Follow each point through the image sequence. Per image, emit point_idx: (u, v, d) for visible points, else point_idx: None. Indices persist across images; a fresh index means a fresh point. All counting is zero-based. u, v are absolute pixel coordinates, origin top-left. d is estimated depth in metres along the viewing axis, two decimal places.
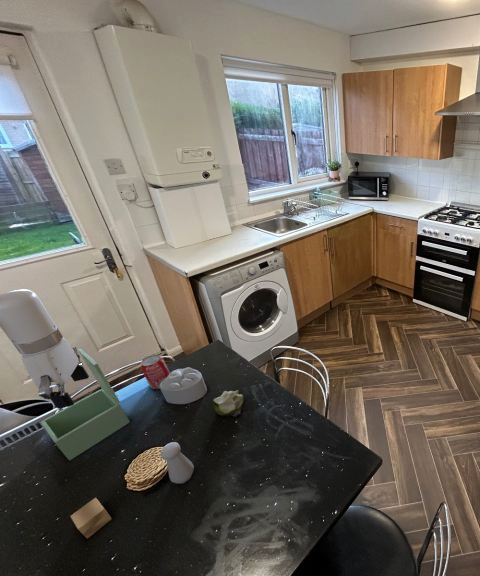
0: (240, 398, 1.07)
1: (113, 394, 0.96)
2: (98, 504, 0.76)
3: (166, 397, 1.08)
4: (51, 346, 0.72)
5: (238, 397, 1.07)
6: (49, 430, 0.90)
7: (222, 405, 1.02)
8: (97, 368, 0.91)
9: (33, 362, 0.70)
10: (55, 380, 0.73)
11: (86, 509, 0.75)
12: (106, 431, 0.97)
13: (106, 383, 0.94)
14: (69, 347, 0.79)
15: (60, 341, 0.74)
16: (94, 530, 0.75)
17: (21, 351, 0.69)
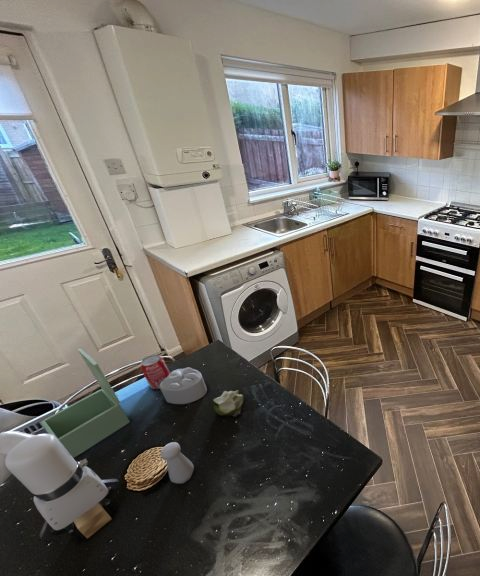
0: (240, 398, 1.07)
1: (113, 394, 0.96)
2: (98, 504, 0.76)
3: (166, 397, 1.08)
4: (50, 501, 0.66)
5: (238, 397, 1.07)
6: (49, 430, 0.90)
7: (222, 405, 1.02)
8: (97, 368, 0.91)
9: (36, 506, 0.66)
10: (50, 526, 0.68)
11: None
12: (106, 431, 0.97)
13: (106, 383, 0.94)
14: (92, 487, 0.72)
15: (63, 495, 0.67)
16: (94, 530, 0.75)
17: None
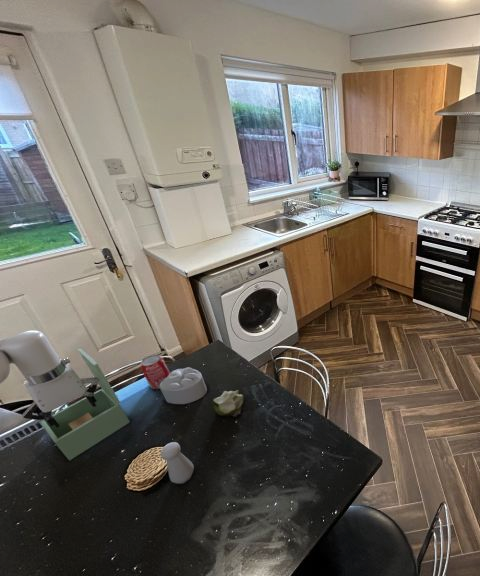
0: (240, 398, 1.07)
1: (113, 394, 0.96)
2: (90, 416, 0.98)
3: (166, 397, 1.08)
4: (38, 384, 0.83)
5: (238, 397, 1.07)
6: (49, 430, 0.90)
7: (222, 405, 1.02)
8: (97, 368, 0.91)
9: (27, 389, 0.84)
10: None
11: (81, 419, 0.97)
12: (106, 431, 0.97)
13: (106, 383, 0.94)
14: (73, 382, 0.90)
15: (49, 381, 0.84)
16: None
17: None
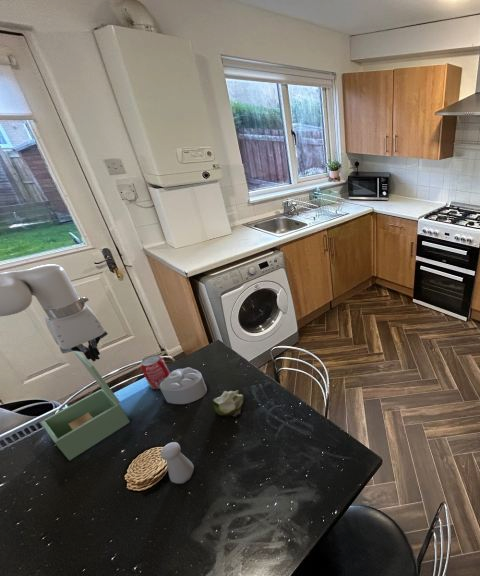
0: (240, 398, 1.07)
1: (112, 395, 0.96)
2: (90, 416, 0.98)
3: (166, 397, 1.08)
4: (58, 318, 0.83)
5: (238, 397, 1.07)
6: (49, 430, 0.90)
7: (222, 405, 1.02)
8: (93, 370, 0.90)
9: (47, 324, 0.84)
10: (58, 344, 0.86)
11: (81, 419, 0.97)
12: (106, 431, 0.97)
13: (104, 384, 0.93)
14: (92, 321, 0.90)
15: (68, 316, 0.84)
16: None
17: None
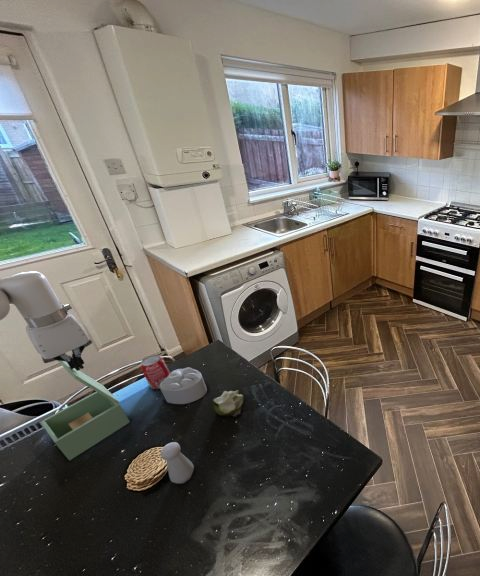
0: (240, 398, 1.07)
1: (109, 397, 0.95)
2: (90, 416, 0.98)
3: (166, 397, 1.08)
4: (39, 327, 0.80)
5: (238, 397, 1.07)
6: (49, 430, 0.90)
7: (222, 405, 1.02)
8: (79, 379, 0.88)
9: (27, 333, 0.81)
10: (40, 353, 0.83)
11: (81, 419, 0.97)
12: (106, 431, 0.97)
13: (96, 390, 0.92)
14: (75, 329, 0.87)
15: (50, 325, 0.81)
16: None
17: None
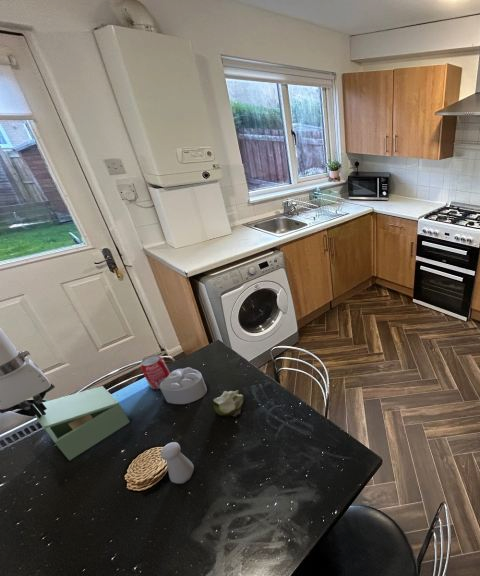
0: (240, 398, 1.07)
1: (102, 408, 0.94)
2: (90, 416, 0.98)
3: (166, 397, 1.08)
4: None
5: (238, 397, 1.07)
6: (49, 430, 0.90)
7: (222, 405, 1.02)
8: (51, 425, 0.85)
9: None
10: None
11: (81, 419, 0.97)
12: (106, 431, 0.97)
13: (81, 416, 0.90)
14: (34, 376, 0.82)
15: (4, 375, 0.77)
16: None
17: None
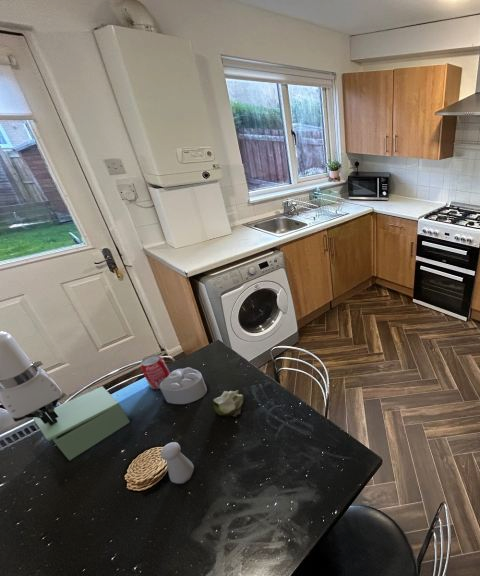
0: (240, 398, 1.07)
1: (103, 411, 0.95)
2: None
3: (166, 397, 1.08)
4: (7, 388, 0.78)
5: (238, 397, 1.07)
6: None
7: (222, 405, 1.02)
8: (54, 436, 0.86)
9: None
10: (9, 413, 0.81)
11: None
12: (106, 431, 0.97)
13: (82, 422, 0.91)
14: (46, 386, 0.85)
15: (18, 385, 0.79)
16: None
17: None
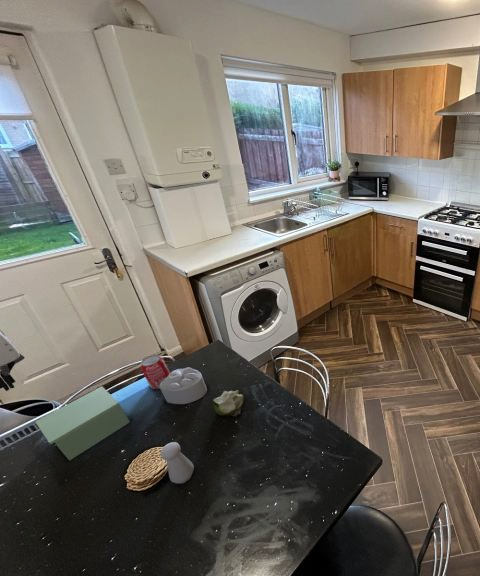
0: (240, 398, 1.07)
1: (103, 412, 0.95)
2: None
3: (166, 397, 1.08)
4: None
5: (238, 397, 1.07)
6: None
7: (222, 405, 1.02)
8: (57, 440, 0.87)
9: None
10: None
11: None
12: (106, 431, 0.97)
13: (84, 424, 0.91)
14: (0, 344, 0.76)
15: None
16: None
17: None
